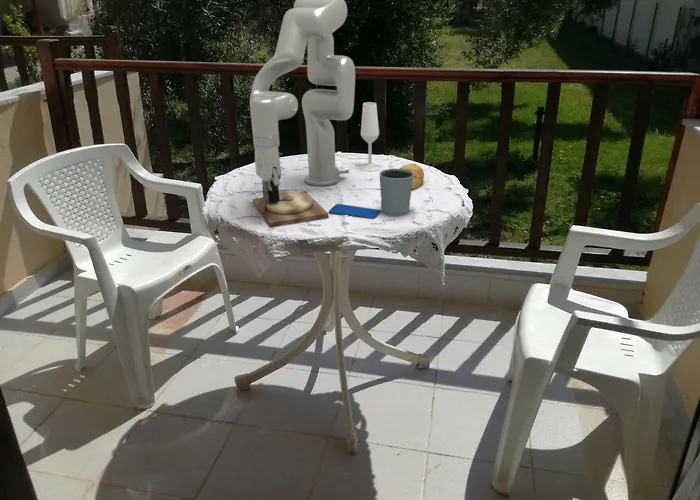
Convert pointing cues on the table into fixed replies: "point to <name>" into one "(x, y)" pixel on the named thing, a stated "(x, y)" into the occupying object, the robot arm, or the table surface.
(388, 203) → the grey-green cup
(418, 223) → the table surface
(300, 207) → the dial
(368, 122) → the champagne flute
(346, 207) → the smartphone
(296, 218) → the board
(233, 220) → the table surface
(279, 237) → the table surface
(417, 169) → the croissant
